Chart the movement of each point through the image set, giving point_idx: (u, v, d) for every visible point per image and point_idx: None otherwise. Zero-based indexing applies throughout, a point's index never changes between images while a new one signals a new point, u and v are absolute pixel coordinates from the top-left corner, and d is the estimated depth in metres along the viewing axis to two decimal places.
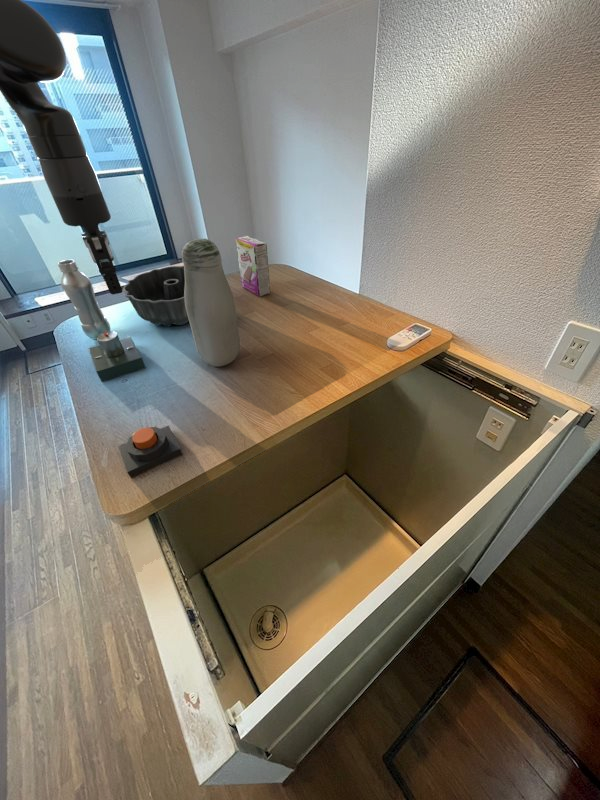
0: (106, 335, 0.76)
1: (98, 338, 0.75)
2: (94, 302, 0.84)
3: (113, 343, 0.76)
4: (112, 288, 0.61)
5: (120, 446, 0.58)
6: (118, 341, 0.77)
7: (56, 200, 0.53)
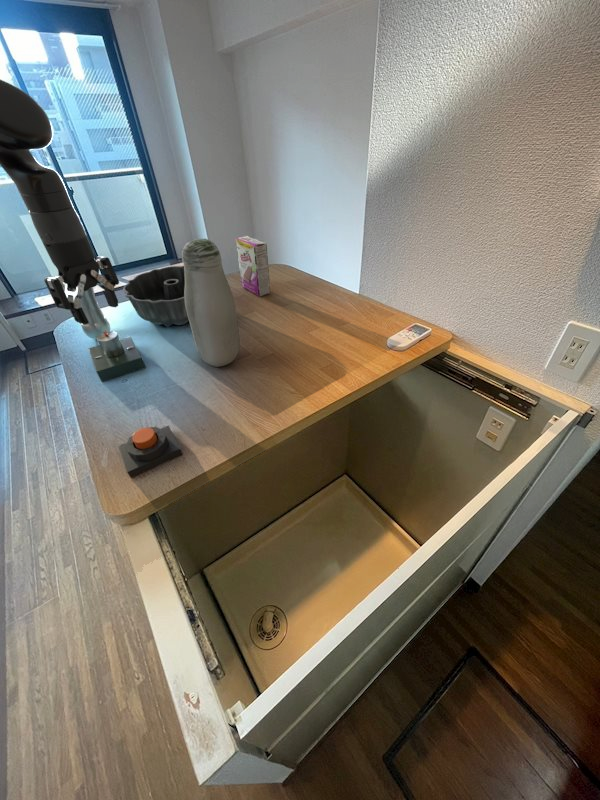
0: (106, 335, 0.76)
1: (98, 338, 0.75)
2: (94, 302, 0.84)
3: (113, 343, 0.76)
4: (76, 319, 0.68)
5: (120, 446, 0.58)
6: (118, 341, 0.77)
7: None
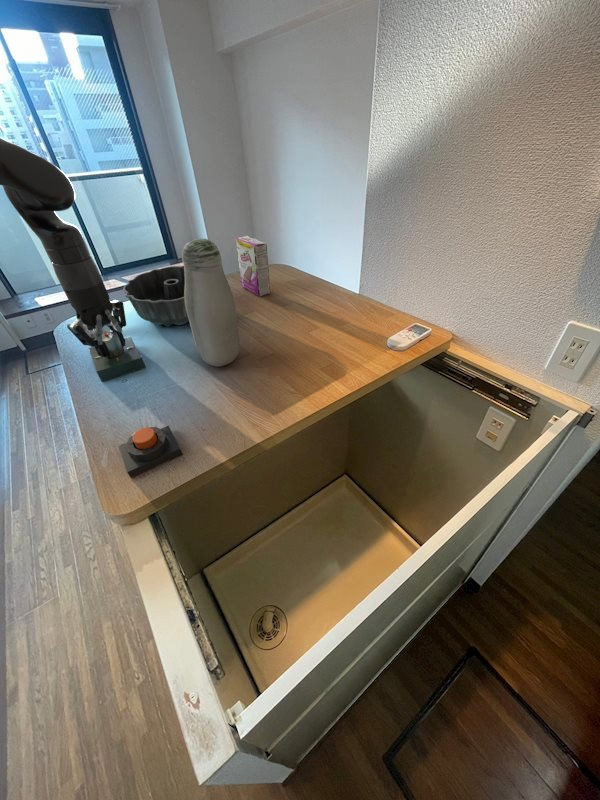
0: (106, 335, 0.76)
1: None
2: None
3: (113, 343, 0.76)
4: (98, 353, 0.75)
5: (120, 446, 0.58)
6: (118, 341, 0.77)
7: None
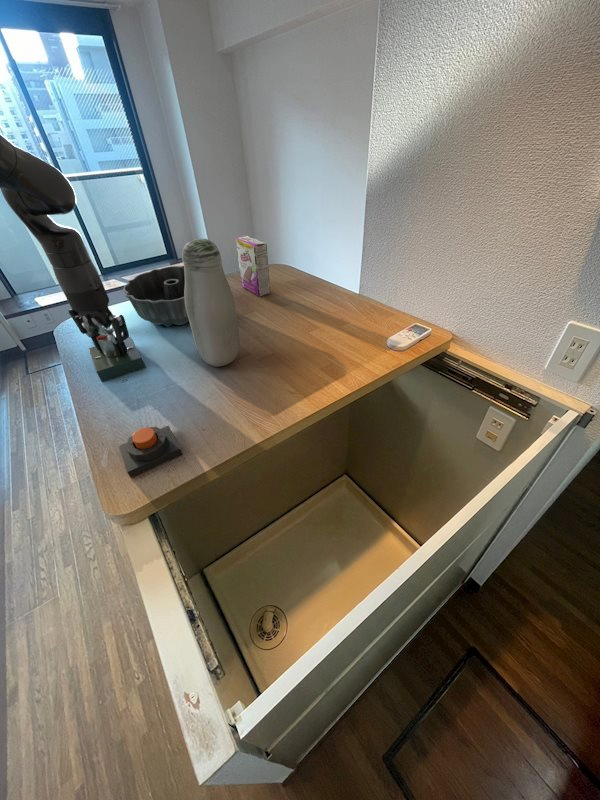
0: None
1: (108, 339, 0.75)
2: None
3: None
4: (123, 351, 0.77)
5: (120, 446, 0.58)
6: None
7: (76, 295, 0.66)
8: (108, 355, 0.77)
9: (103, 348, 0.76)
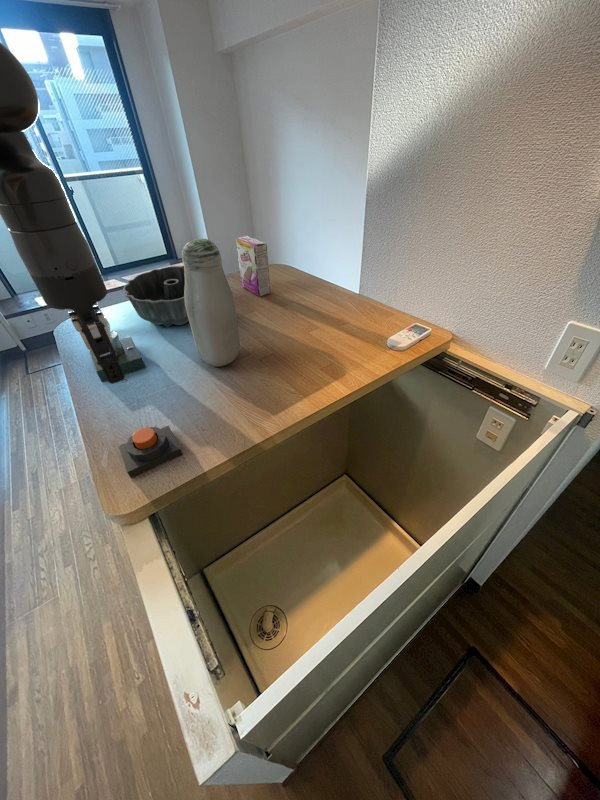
0: None
1: None
2: None
3: None
4: (112, 377, 0.48)
5: (120, 446, 0.58)
6: None
7: (36, 280, 0.40)
8: None
9: None
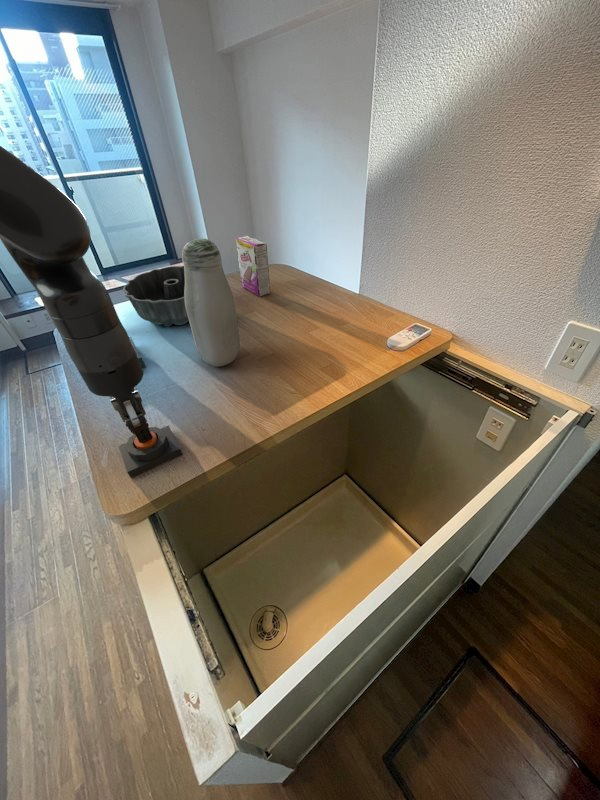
0: None
1: None
2: None
3: None
4: (142, 439, 0.55)
5: (120, 446, 0.58)
6: None
7: (82, 374, 0.43)
8: None
9: None
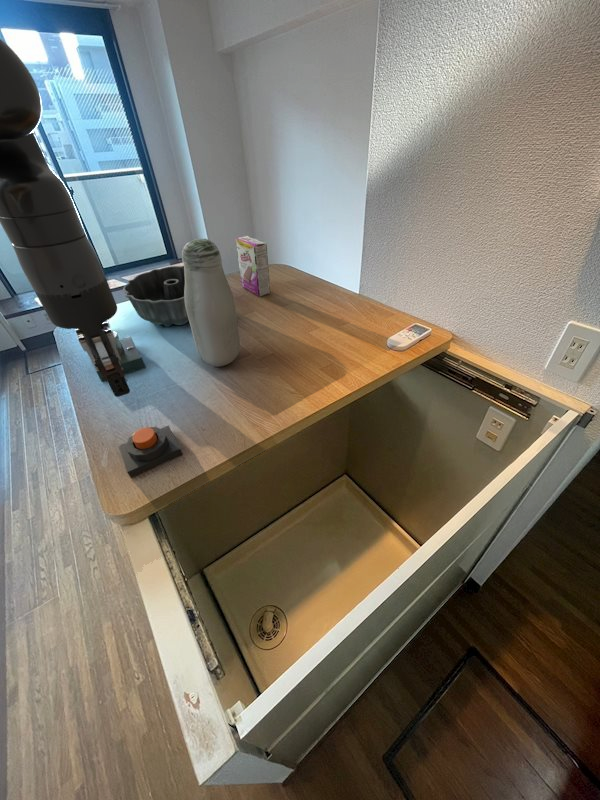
0: None
1: None
2: None
3: None
4: (118, 391, 0.48)
5: (120, 446, 0.58)
6: None
7: (41, 298, 0.36)
8: None
9: None
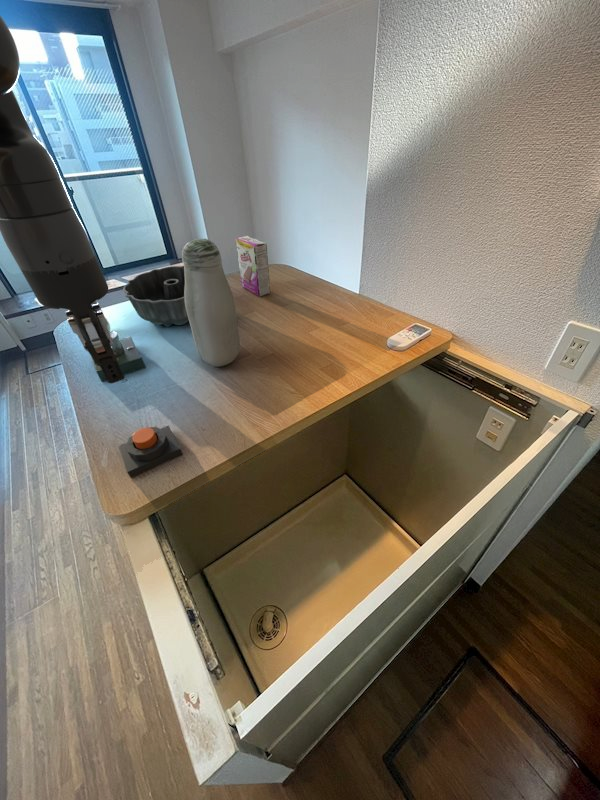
0: None
1: None
2: (94, 302, 0.84)
3: None
4: (111, 377, 0.46)
5: (120, 446, 0.58)
6: None
7: (27, 275, 0.35)
8: None
9: None
